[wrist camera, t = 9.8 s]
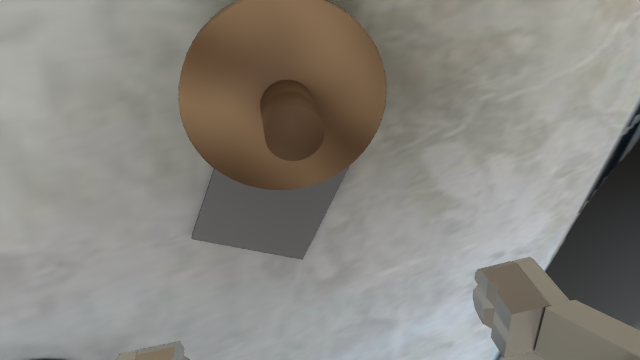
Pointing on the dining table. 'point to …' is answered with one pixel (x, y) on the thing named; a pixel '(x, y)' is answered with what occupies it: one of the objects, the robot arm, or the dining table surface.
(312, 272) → the dining table surface
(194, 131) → the lid
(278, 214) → the mat
